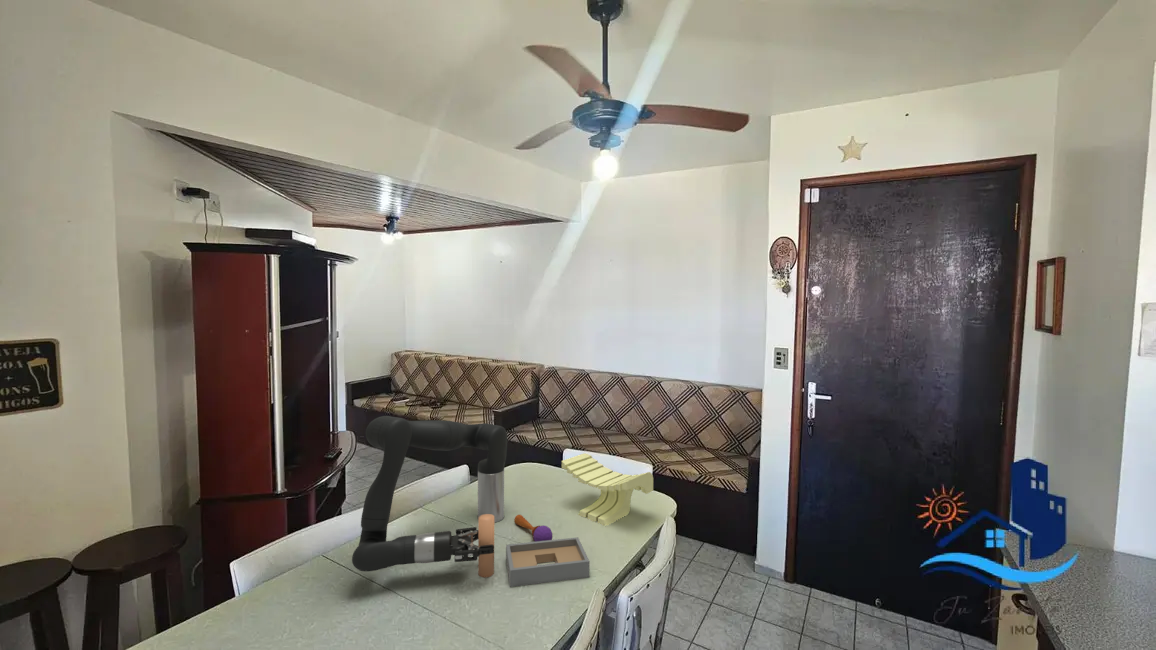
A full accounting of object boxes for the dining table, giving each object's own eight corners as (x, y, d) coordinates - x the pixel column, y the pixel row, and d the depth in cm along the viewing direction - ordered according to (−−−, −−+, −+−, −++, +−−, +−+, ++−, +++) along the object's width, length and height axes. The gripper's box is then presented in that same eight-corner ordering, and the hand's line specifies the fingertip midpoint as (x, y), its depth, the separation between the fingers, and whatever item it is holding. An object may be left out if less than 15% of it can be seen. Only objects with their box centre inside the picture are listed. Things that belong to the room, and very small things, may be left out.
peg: (478, 569, 136) (478, 514, 135) (493, 567, 137) (494, 513, 136) (478, 578, 131) (478, 521, 131) (494, 576, 132) (494, 520, 132)
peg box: (505, 559, 141) (506, 544, 141) (577, 551, 146) (578, 537, 146) (510, 586, 128) (510, 570, 127) (589, 577, 133) (589, 561, 132)
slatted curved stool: (652, 519, 169) (653, 469, 168) (625, 534, 157) (626, 481, 157) (589, 495, 189) (589, 451, 189) (561, 507, 178) (561, 460, 177)
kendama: (527, 510, 166) (557, 528, 150) (525, 527, 166) (554, 548, 149) (512, 510, 163) (540, 529, 147) (509, 528, 162) (538, 549, 146)
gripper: (431, 546, 123) (494, 540, 127) (434, 522, 137) (491, 517, 141) (431, 574, 124) (494, 567, 127) (434, 547, 137) (491, 541, 141)
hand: (493, 541), depth 134 cm, fingers open, 8 cm apart
